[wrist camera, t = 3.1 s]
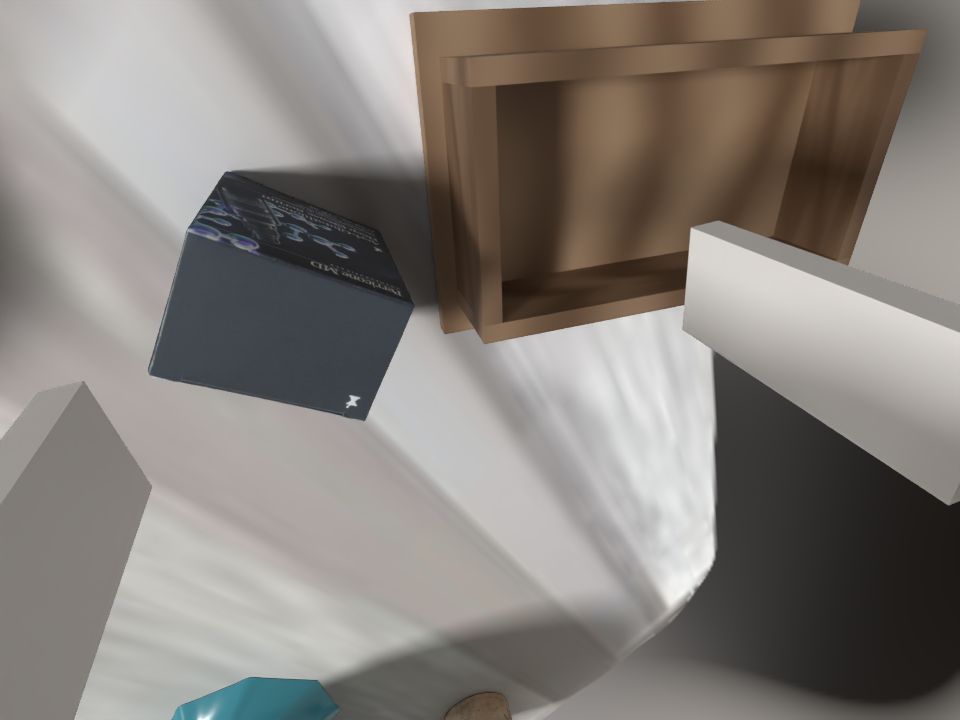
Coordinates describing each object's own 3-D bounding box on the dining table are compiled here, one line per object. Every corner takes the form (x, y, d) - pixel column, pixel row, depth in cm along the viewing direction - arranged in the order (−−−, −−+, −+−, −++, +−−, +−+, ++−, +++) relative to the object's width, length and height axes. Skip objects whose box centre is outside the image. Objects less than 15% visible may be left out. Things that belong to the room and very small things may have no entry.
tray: (440, 327, 32) (467, 376, 27) (409, 14, 23) (439, 2, 18) (775, 265, 37) (849, 297, 32) (846, -5, 29) (959, -17, 24)
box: (381, 228, 28) (420, 306, 19) (344, 319, 30) (365, 428, 21) (223, 165, 24) (182, 226, 15) (193, 273, 26) (142, 382, 17)
